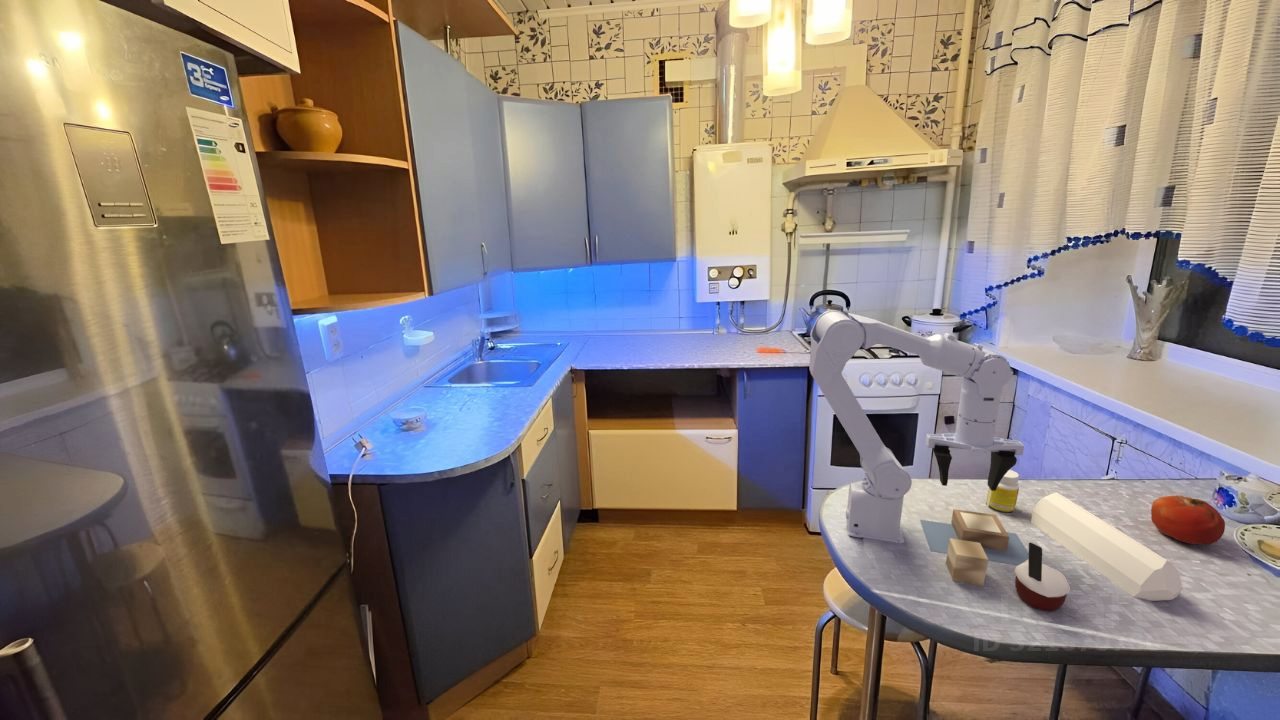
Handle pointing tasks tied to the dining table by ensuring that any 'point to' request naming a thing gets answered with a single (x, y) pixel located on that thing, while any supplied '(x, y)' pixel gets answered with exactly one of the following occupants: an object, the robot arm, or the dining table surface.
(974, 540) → the walnut base block
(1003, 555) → the board
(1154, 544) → the dining table surface
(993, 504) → the supplement bottle
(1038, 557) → the cocoa
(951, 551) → the maple block
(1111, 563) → the crystal
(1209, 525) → the tomato
